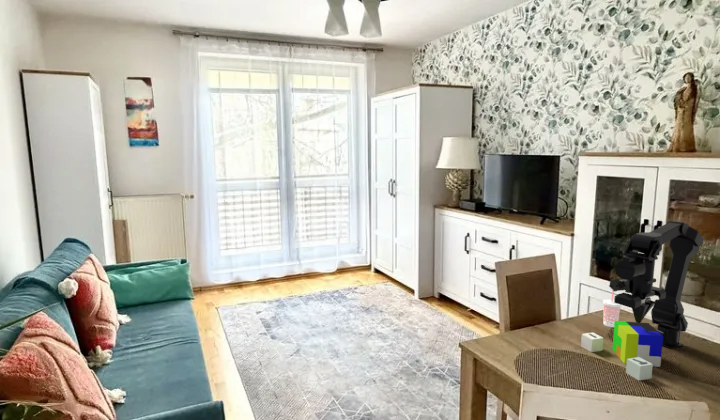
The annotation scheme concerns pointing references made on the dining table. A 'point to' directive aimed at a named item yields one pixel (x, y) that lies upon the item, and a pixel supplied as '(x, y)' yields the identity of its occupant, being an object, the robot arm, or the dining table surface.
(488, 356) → the dining table surface
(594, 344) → the digit block one
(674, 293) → the robot arm
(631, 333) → the puzzle toy
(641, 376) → the digit block seven
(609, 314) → the beverage cup
